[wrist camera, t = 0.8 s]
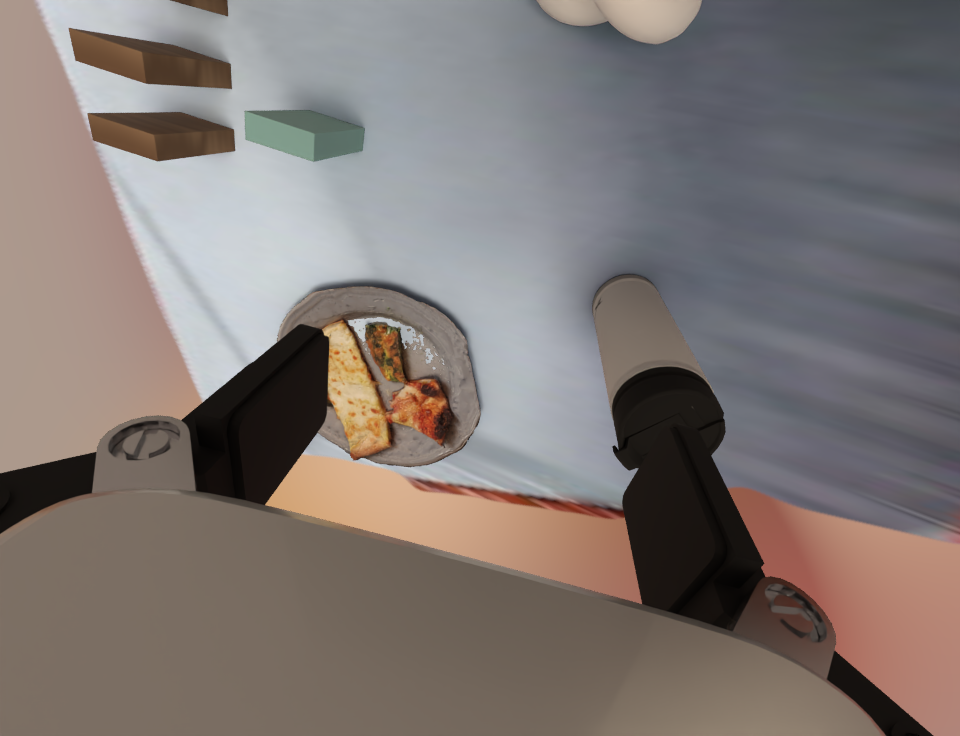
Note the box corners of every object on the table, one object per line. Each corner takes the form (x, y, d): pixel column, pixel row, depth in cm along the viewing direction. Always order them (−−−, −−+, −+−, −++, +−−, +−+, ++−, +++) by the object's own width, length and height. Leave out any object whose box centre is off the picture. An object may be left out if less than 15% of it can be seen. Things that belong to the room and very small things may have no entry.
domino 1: (173, 45, 35) (68, 27, 28) (230, 63, 35) (141, 52, 28) (176, 70, 36) (75, 60, 28) (231, 88, 36) (146, 83, 29)
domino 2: (180, 112, 38) (87, 113, 30) (233, 129, 38) (154, 134, 30) (183, 134, 39) (93, 140, 31) (235, 151, 39) (157, 161, 31)
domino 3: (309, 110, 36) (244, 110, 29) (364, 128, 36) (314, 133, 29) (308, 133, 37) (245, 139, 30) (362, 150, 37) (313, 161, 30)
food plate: (493, 456, 54) (490, 475, 51) (333, 457, 59) (321, 475, 56) (457, 267, 42) (449, 278, 39) (261, 290, 47) (240, 302, 44)
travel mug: (576, 299, 41) (591, 430, 25) (638, 260, 39) (703, 378, 22) (609, 345, 43) (644, 494, 27) (670, 311, 41) (752, 454, 24)
